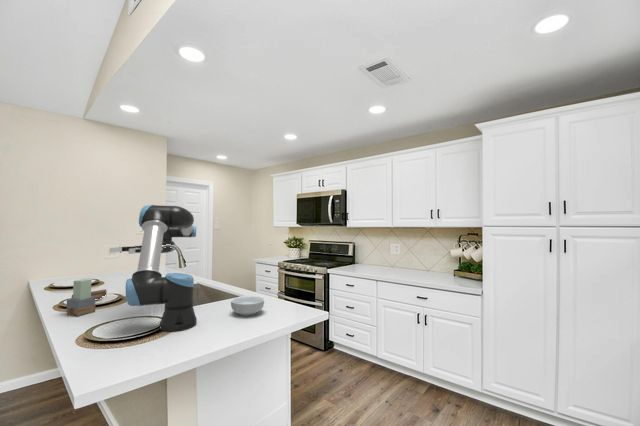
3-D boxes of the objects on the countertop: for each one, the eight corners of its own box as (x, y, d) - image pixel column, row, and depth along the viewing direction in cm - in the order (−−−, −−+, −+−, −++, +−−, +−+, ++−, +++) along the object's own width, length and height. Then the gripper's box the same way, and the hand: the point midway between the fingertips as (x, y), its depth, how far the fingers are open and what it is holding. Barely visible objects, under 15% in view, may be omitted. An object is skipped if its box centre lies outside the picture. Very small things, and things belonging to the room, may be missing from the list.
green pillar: (90, 297, 146) (91, 279, 147) (80, 299, 142) (81, 281, 142) (83, 296, 148) (84, 278, 148) (72, 298, 143) (73, 280, 143)
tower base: (95, 312, 147) (95, 304, 147) (77, 317, 140) (78, 309, 140) (83, 310, 150) (84, 303, 150) (66, 315, 142) (66, 307, 142)
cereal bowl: (270, 312, 152) (270, 298, 152) (247, 321, 138) (247, 306, 138) (247, 306, 161) (248, 294, 161) (223, 314, 147) (224, 300, 147)
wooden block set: (69, 293, 164) (104, 287, 180) (69, 303, 163) (104, 296, 179) (85, 297, 156) (120, 290, 172) (84, 307, 156) (120, 299, 172)
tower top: (95, 304, 147) (95, 296, 148) (78, 308, 140) (78, 300, 140) (83, 303, 150) (83, 295, 150) (66, 307, 142) (66, 299, 142)
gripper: (168, 254, 172) (137, 258, 152) (136, 253, 180) (102, 256, 159) (169, 242, 173) (137, 244, 152) (136, 241, 180) (102, 243, 160)
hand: (119, 250), depth 156 cm, fingers open, 13 cm apart
